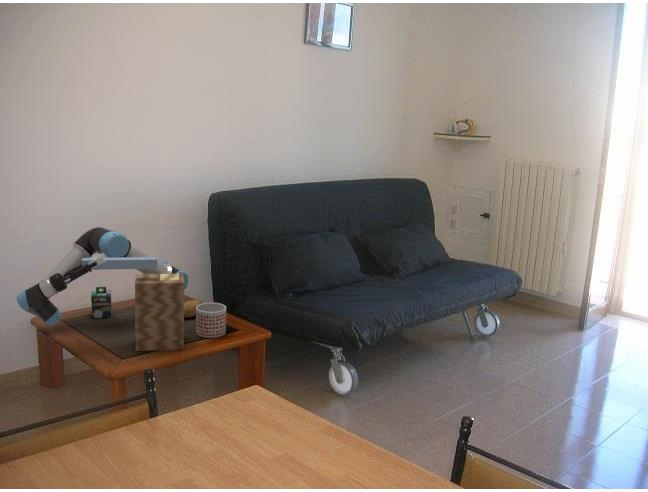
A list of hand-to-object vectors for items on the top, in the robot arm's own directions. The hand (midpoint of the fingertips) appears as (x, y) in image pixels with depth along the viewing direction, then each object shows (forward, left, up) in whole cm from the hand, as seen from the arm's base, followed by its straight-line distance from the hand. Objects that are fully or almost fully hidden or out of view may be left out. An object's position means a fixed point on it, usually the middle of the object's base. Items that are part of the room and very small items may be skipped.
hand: (104, 257), depth 270 cm
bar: (-5, +5, -5) cm, 8 cm away
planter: (-40, +24, -40) cm, 61 cm away
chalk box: (-24, -32, -40) cm, 56 cm away
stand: (-16, +16, -40) cm, 45 cm away
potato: (-50, +1, -40) cm, 64 cm away
